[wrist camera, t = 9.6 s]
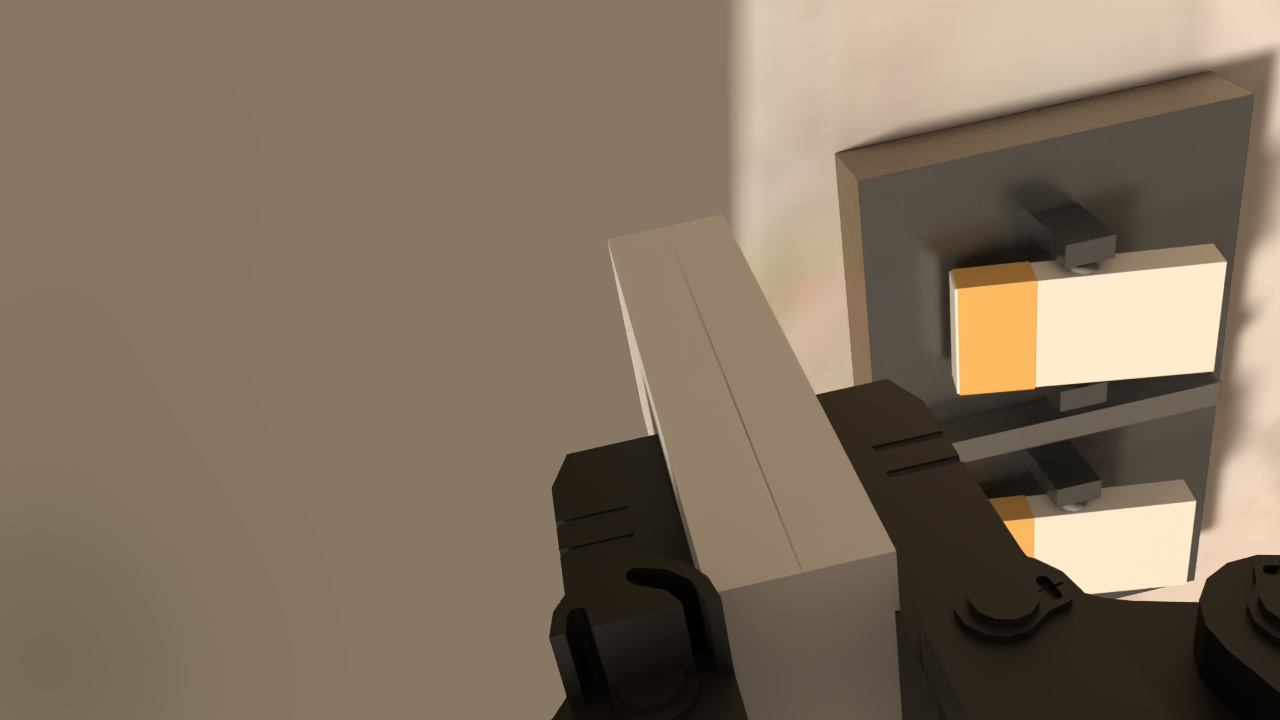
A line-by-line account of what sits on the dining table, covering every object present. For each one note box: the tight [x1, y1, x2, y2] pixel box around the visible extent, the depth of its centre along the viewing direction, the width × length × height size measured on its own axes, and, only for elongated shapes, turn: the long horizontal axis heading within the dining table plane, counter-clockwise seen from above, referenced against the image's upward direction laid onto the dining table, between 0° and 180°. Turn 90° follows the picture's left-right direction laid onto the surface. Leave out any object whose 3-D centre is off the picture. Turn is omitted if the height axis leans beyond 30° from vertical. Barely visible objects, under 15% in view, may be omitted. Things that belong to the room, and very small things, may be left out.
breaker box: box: [835, 71, 1254, 599], centre depth 50 cm, size 16×26×6 cm, turn 10°
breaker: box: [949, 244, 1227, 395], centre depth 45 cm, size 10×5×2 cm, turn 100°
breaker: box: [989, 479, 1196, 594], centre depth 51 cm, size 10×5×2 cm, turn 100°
